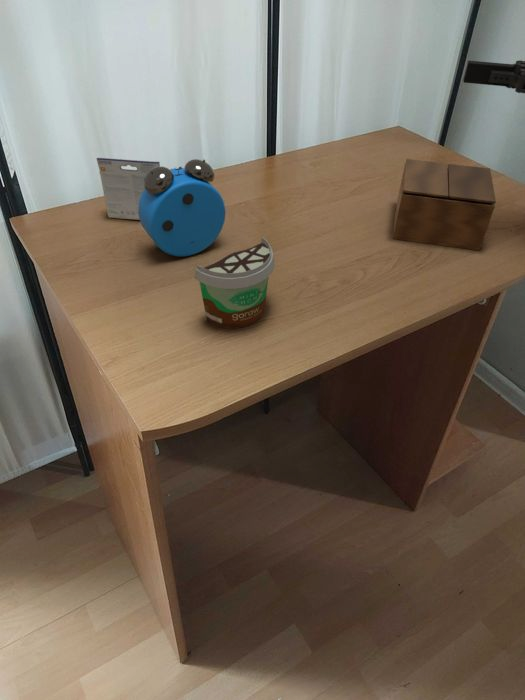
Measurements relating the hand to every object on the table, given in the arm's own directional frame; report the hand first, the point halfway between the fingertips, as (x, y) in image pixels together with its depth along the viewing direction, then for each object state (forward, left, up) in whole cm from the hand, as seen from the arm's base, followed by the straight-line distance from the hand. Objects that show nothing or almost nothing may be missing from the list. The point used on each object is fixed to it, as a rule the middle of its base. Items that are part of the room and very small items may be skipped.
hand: (466, 71), depth 81 cm
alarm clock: (+43, +10, -27) cm, 52 cm away
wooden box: (-2, 0, -26) cm, 26 cm away
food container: (+32, +28, -27) cm, 51 cm away
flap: (-5, +1, -17) cm, 18 cm away
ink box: (+53, 0, -27) cm, 60 cm away
